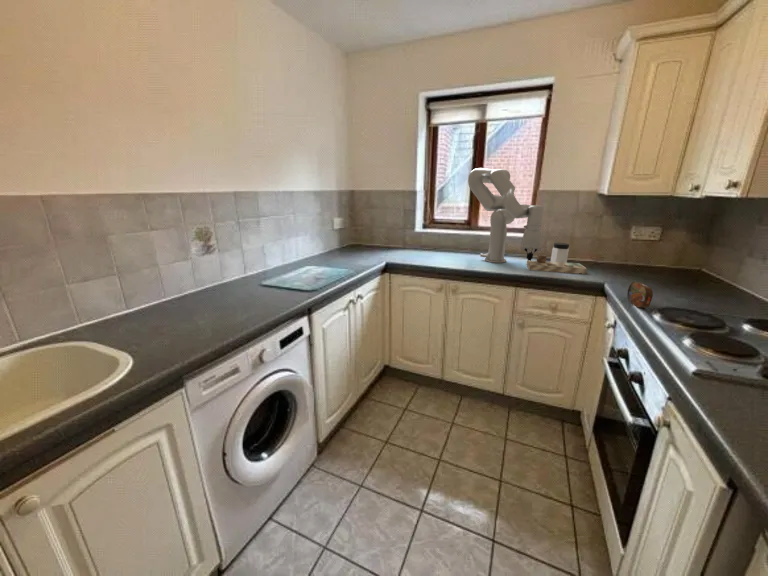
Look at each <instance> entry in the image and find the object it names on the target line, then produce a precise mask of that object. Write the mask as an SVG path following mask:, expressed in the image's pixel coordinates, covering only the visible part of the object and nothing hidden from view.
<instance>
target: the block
mask: <svg viewBox="0 0 768 576" xmlns="http://www.w3.org/2000/svg"><path fill="white" fill-rule="evenodd" d="M546 260H547V255H546V254H537V257H536V261H537V262H538V263H545V262H546Z"/></svg>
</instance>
